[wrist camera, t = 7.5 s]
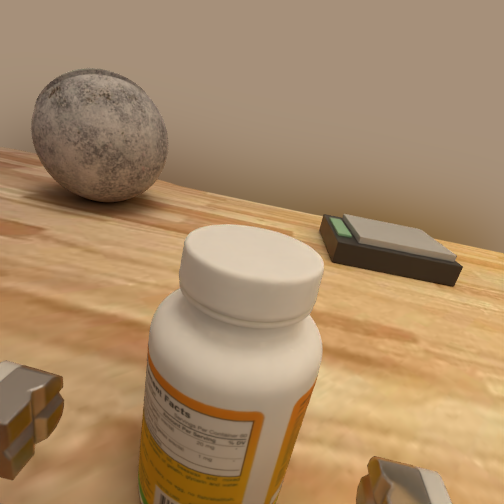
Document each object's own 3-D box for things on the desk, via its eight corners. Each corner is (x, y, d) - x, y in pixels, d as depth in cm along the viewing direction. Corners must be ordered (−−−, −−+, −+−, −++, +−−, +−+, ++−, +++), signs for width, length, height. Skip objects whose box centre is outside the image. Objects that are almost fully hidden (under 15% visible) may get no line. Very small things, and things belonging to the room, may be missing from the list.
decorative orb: (144, 187, 52) (151, 83, 47) (179, 218, 42) (194, 87, 36) (31, 182, 44) (23, 53, 38) (40, 219, 33) (31, 48, 28)
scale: (331, 262, 37) (340, 234, 36) (319, 230, 48) (325, 208, 47) (454, 286, 37) (466, 260, 36) (413, 249, 48) (421, 227, 47)
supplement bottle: (240, 404, 16) (282, 217, 13) (304, 517, 12) (394, 285, 9) (124, 437, 14) (138, 213, 10) (155, 597, 9) (197, 308, 6)
